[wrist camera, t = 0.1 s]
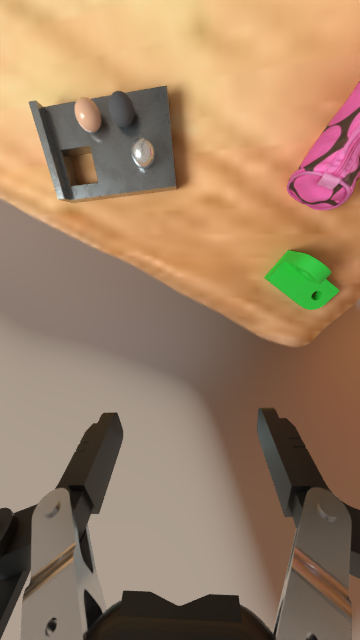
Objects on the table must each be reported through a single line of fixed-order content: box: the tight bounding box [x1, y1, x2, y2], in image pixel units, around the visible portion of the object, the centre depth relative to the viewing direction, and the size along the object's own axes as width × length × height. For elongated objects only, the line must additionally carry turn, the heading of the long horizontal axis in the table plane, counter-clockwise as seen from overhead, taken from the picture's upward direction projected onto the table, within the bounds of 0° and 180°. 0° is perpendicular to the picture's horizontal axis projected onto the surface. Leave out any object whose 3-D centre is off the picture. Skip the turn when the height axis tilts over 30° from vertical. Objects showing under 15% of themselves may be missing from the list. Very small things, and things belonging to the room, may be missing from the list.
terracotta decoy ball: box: [75, 97, 102, 132], centre depth 26 cm, size 3×3×3 cm
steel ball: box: [131, 137, 155, 168], centre depth 27 cm, size 3×3×3 cm
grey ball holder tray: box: [29, 86, 177, 203], centre depth 29 cm, size 11×18×4 cm, turn 96°
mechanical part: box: [264, 250, 340, 310], centre depth 34 cm, size 12×6×8 cm, turn 55°
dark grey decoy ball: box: [109, 91, 134, 127], centre depth 26 cm, size 3×3×3 cm
